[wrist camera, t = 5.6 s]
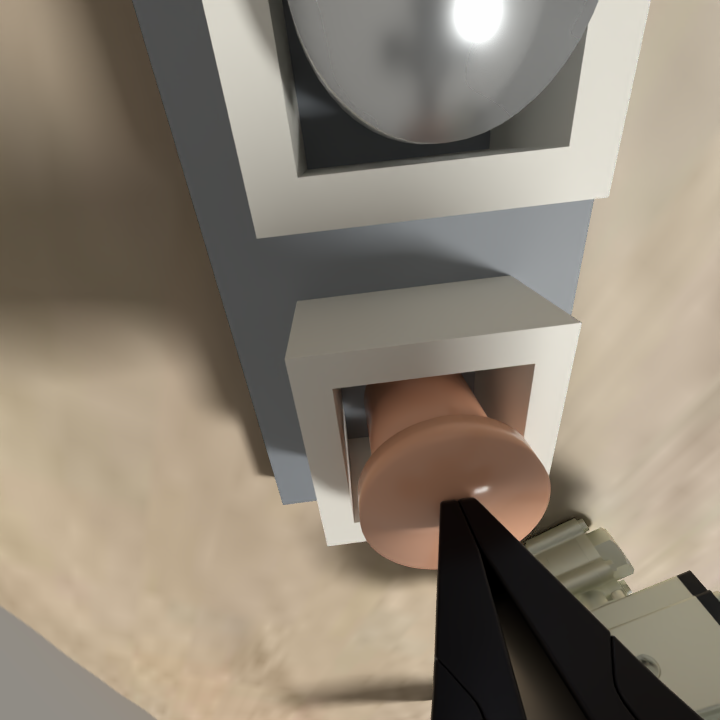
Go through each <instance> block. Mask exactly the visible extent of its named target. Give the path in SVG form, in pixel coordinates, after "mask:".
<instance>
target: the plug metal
mask: <svg viewBox="0 0 720 720" xmlns="http://www.w3.org/2000/svg"><path fill="white" fill-rule="evenodd" d="M287 1H288V5H289V8H290V12H291V15H292V19H293V22H294V26H295V29H296V32H297V36H298V38H299V41H300V43H301V45H302V48H303V50H304V53H305V55H306V58H307V59H308V61H309V63H310V65H311V67H312V69H313V70H314V72H315V74H316V76H317V78H318V79H319V81H320V82H321V83H322V85H323V86H324V88H325V89H326V91H327V92H328V93H329V95H330V96H331V97H332V98H333V99H334V100H335V101H336V103H337V104H338V105H339V106H340V107H341V108H342V109H343V110H344V111H345V112H346V113H347V114H349V115H350V116H351V117H352V118H353V119H354V120H356V121H357V122H358V123H360V124H362V125H363V126H365V127H366V128H368V129H369V130H371V131H373V132H375V133H377V134H379V135H382V136H384V137H386V138H389V139H393V140H396V141H400V142H404V143H413V144H437V143H448V142H453V141H458V140H464V139H468V138H470V137H473V136H476V135H479V134H482V133H485V132H487V131H489V130H491V129H493V128H495V127H497V126H498V125H500V124H502V123H504V122H505V121H507V120H508V119H510V118H511V117H513V116H514V115H516V114H517V113H519V112H520V111H521V110H522V109H523V108H524V107H526V106H527V105H528V104H529V103H530V102H531V101H533V100H534V99H535V98H536V97H537V96H538V95H539V94H540V93H541V92H542V91H543V90H544V89H545V87H546V86H547V85H548V84H549V83H550V82H551V81H552V80H553V78H554V77H555V76H556V75H557V73H558V72H559V71H560V69H561V68H562V67H563V65H564V64H565V63H566V61H567V60H568V58H569V57H570V55H571V54H572V52H573V50H574V49H575V47H576V46H577V44H578V42H579V41H580V39H581V37H582V35H583V33H584V31H585V29H586V27H587V25H588V23H589V21H590V19H591V17H592V15H593V13H594V11H595V8H596V6H597V3H598V1H599V0H287Z"/></svg>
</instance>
